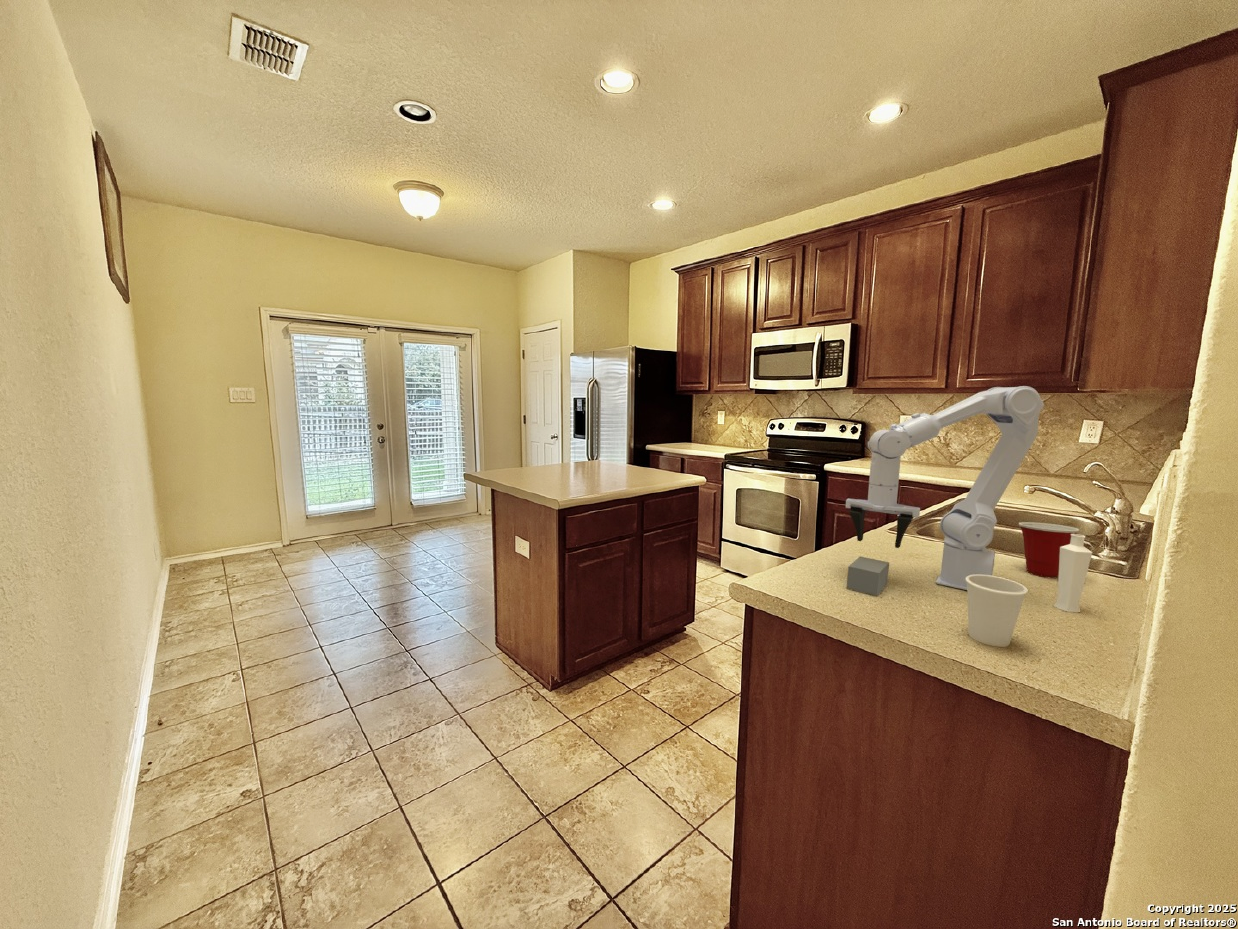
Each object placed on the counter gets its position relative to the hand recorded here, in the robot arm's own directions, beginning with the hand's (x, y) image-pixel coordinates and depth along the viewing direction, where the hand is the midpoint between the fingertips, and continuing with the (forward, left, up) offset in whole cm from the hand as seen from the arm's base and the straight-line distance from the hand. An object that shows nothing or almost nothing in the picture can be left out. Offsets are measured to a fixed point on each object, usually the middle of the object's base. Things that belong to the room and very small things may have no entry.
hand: (878, 543), depth 110 cm
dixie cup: (-22, +17, -9) cm, 29 cm away
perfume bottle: (-33, -9, -9) cm, 35 cm away
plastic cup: (-29, -32, -9) cm, 44 cm away
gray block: (0, +6, -8) cm, 10 cm away
